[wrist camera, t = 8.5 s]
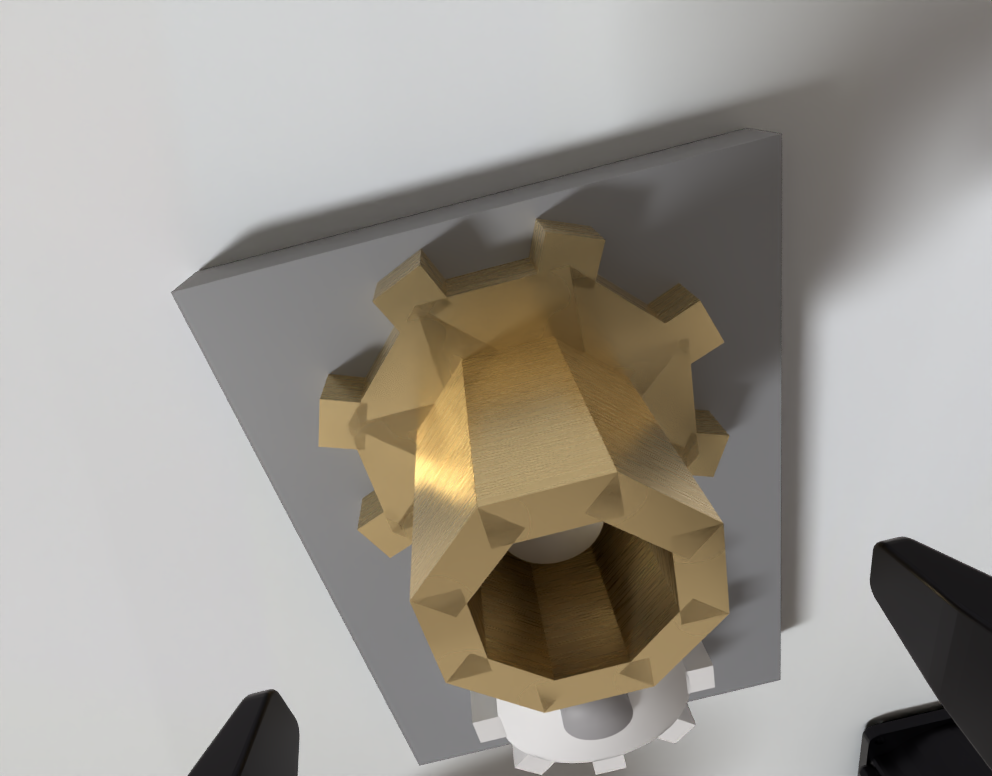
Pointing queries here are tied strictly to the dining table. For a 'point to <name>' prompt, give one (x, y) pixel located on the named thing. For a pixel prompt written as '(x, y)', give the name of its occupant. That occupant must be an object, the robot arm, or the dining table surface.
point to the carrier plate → (348, 332)
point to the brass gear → (541, 470)
